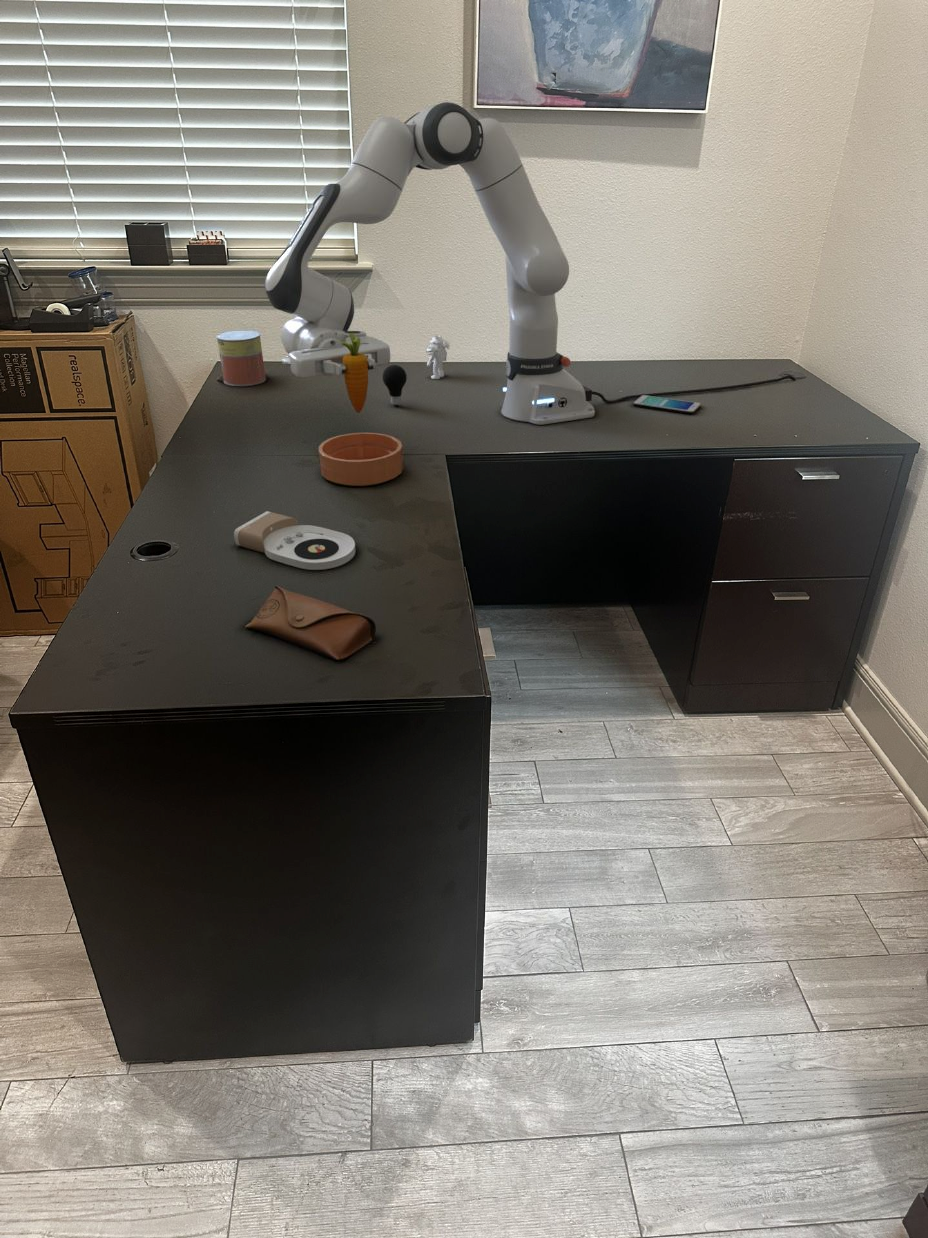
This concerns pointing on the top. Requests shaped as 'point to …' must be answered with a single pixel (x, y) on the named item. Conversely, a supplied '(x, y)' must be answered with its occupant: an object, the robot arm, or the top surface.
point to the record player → (295, 542)
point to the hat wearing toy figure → (437, 355)
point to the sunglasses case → (313, 624)
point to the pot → (361, 458)
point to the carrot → (356, 374)
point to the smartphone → (667, 404)
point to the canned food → (241, 357)
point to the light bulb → (395, 382)
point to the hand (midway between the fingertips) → (357, 367)
